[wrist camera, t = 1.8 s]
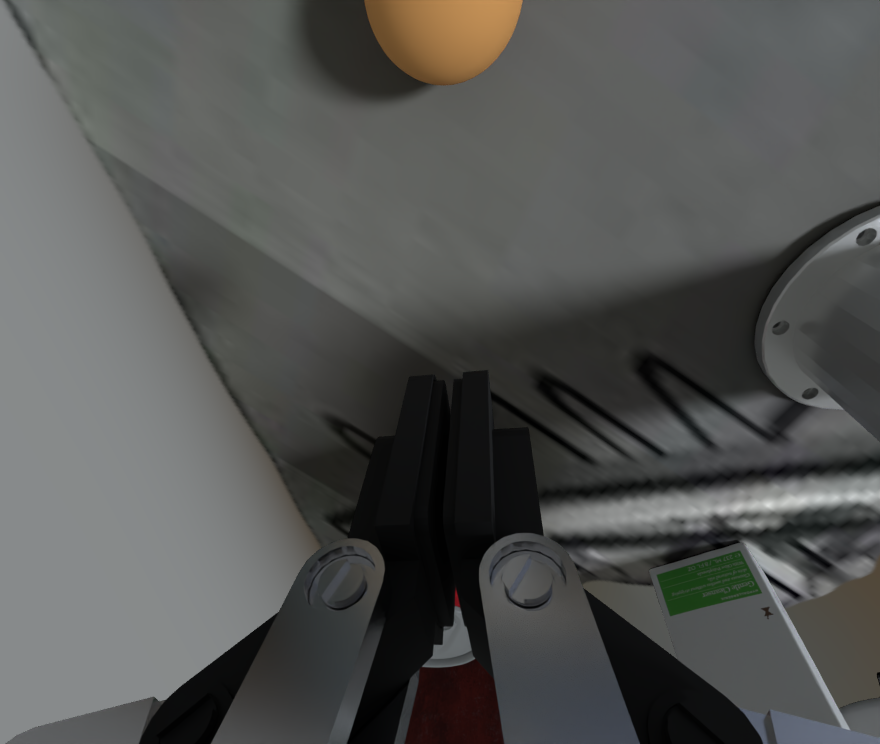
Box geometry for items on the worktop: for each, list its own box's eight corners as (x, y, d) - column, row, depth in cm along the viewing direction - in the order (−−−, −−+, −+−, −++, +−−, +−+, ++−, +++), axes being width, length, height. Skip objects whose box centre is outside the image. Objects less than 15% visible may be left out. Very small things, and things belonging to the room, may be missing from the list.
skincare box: (743, 538, 36) (889, 793, 23) (768, 579, 39) (913, 830, 26) (643, 570, 40) (722, 810, 27) (673, 606, 42) (759, 841, 29)
